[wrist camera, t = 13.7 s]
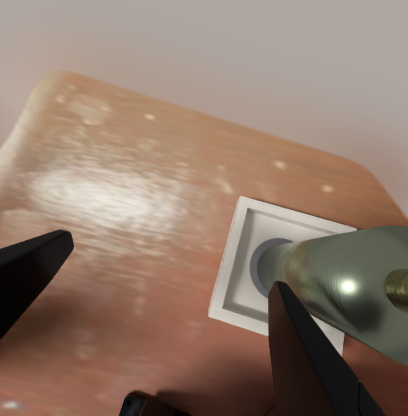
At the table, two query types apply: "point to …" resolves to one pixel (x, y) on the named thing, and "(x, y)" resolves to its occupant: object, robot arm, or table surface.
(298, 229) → the tray
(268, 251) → the green bottle
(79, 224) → the table surface
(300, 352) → the robot arm
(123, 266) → the table surface
